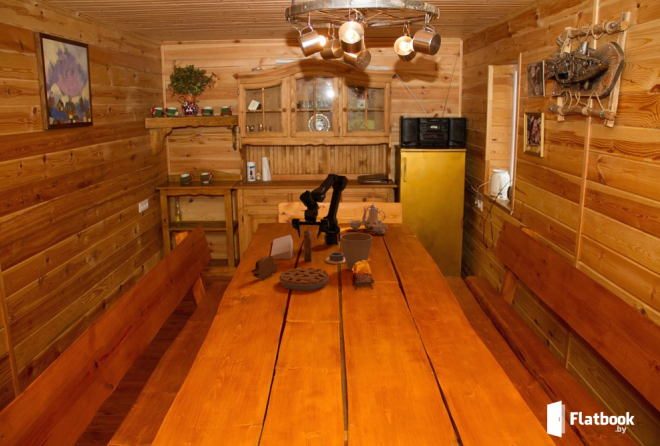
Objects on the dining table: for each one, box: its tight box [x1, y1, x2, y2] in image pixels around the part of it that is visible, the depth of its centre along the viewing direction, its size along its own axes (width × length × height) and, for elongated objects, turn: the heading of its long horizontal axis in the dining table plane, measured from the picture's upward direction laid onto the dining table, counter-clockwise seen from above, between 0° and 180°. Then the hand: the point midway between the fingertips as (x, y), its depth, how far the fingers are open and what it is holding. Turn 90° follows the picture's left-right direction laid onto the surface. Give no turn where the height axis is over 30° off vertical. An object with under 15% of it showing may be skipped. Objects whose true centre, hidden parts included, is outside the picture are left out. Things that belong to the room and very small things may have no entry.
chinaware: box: [347, 203, 389, 235], centre depth 341 cm, size 28×17×17 cm, turn 58°
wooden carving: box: [250, 255, 279, 280], centre depth 253 cm, size 16×5×10 cm, turn 150°
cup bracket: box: [325, 251, 346, 265], centre depth 280 cm, size 11×11×3 cm
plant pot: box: [339, 232, 373, 271], centre depth 264 cm, size 15×15×16 cm
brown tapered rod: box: [303, 230, 312, 263], centre depth 278 cm, size 4×4×15 cm
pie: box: [278, 267, 330, 292], centre depth 246 cm, size 22×22×5 cm
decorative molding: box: [270, 234, 294, 260], centre depth 300 cm, size 34×5×10 cm
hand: (308, 237), depth 281 cm, fingers open, 9 cm apart
